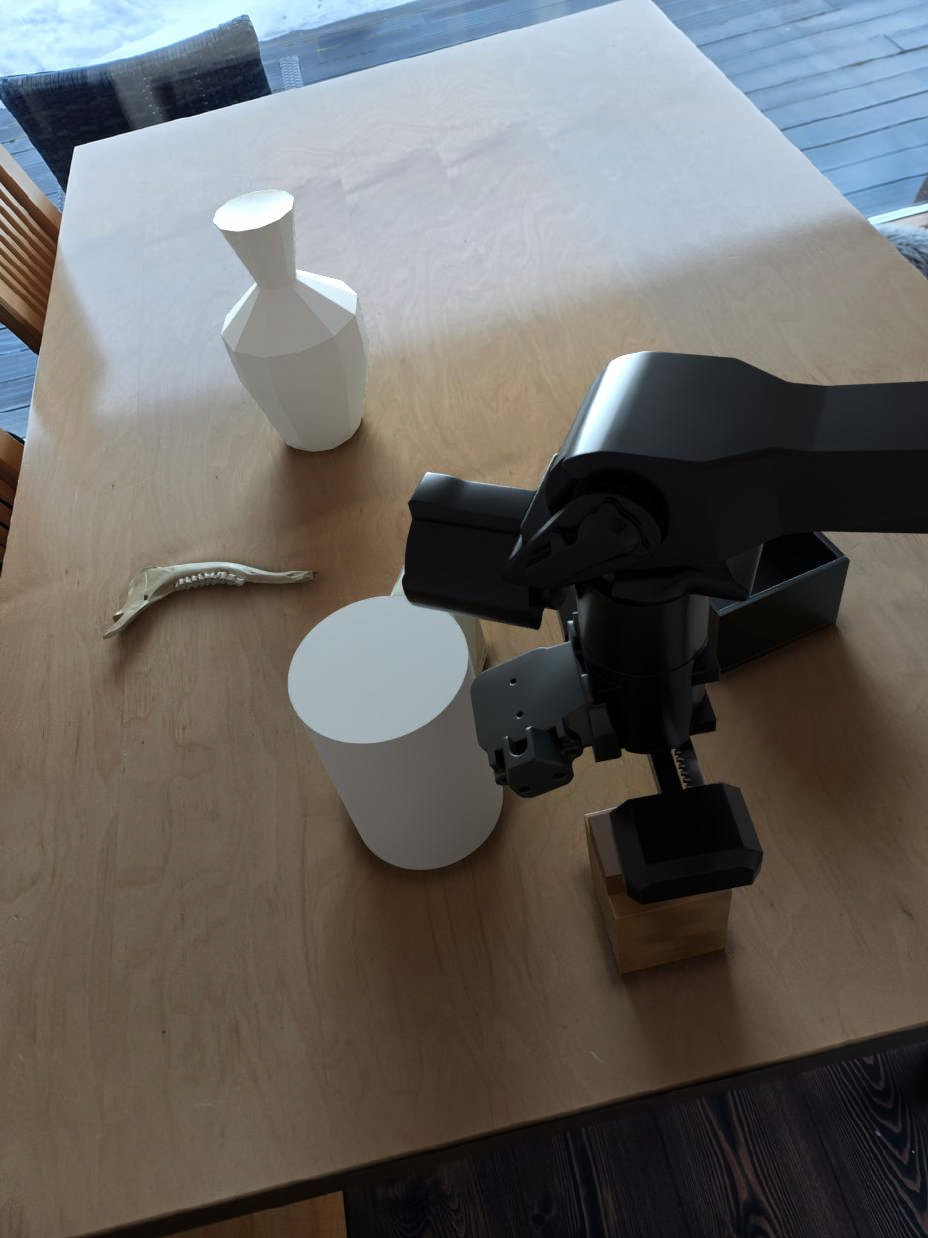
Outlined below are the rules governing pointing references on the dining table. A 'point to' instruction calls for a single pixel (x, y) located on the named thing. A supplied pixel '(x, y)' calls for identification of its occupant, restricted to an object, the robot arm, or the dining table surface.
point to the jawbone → (190, 584)
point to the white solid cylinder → (398, 729)
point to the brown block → (606, 852)
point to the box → (467, 625)
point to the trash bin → (780, 600)
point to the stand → (659, 922)
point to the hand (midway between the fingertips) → (647, 796)
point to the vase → (293, 329)
